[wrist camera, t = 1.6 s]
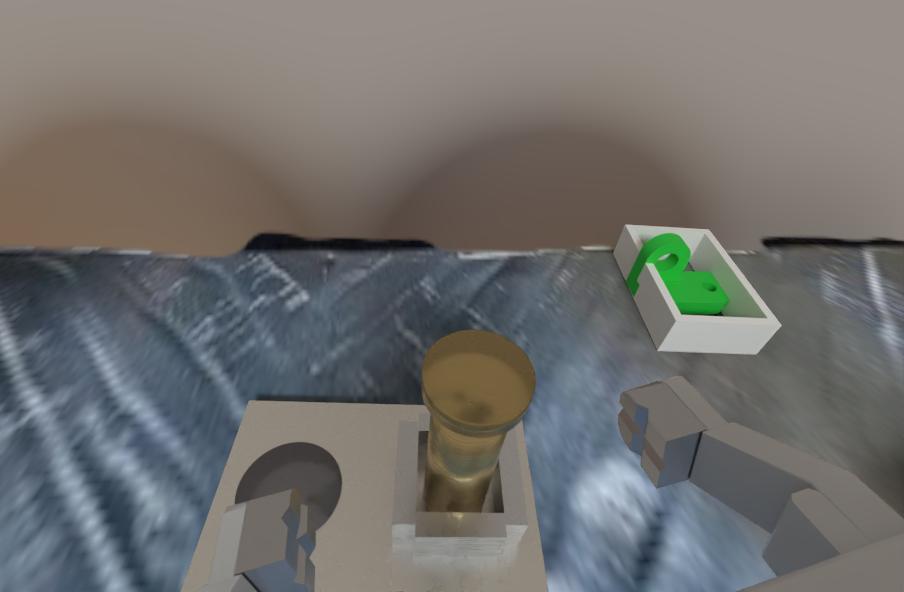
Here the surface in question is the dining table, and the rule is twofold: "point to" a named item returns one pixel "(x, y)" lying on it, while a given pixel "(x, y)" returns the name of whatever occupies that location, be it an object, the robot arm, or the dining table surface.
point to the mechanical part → (679, 276)
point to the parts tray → (670, 331)
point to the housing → (379, 501)
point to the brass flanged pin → (470, 414)
